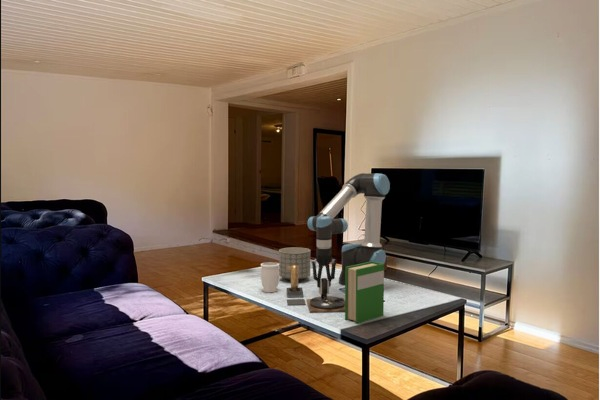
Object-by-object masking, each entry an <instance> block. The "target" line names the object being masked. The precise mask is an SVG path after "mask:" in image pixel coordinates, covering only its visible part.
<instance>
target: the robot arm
mask: <svg viewBox="0 0 600 400" xmlns="http://www.w3.org/2000/svg"><path fill="white" fill-rule="evenodd" d="M390 185H391V182H390V180H389V178H388V176H387V175H386V174H383V173H364V172H362V173H358V174H356V175H354V176H352V177H351V178H349V179H348V180H347V181H346V182H345V183H344V184H343V185H342V188H341V189H340V191H339V192H338V193H336V195H335V196H334V197H333V198H331V200H330V201H329V202H328V203H327V204H326V205H325V206H324V207H323V209H321V211H320V212H318V214H317V215H316V216H315V215H314V216H310V217H309V218H308V220H307V227H308V229H309V230H310V231H314V232H316V257H315V259H314V260H310V264H311V266H312V267H311V268H312V277H313V280H314V281H316V284H317V285H316V286H317V288H318V294H320V295H321V294H322V281H321V278H322V273H323V268H324V267H325V272H326V278H327V295H328V294H330V287H332V280H335V275H336V266H337V262H338V260H337V259H336V258H333V257H332V247H333V246H332V235H337V234H342V233H345V232H347V230H348V227H349V224H348V222H347V220H346V219H344V218H336V217H337V215H338V214H339V213H340V211H342V210H343V208H344V207H346V205H347V204H348V203H349V202H350V201H351V199H353V198H356V197H357V196H358V195H361V194H363V195H364V196H363V197H364V198H365V199H366V202H365V203H366V205H365V220H364V221H365V222H364V223H365V224H364V237H363V238H364V242H362V243H348V244H347V243H346V244H343V245H342V246H341V271H340V274H339V277H338V283H339V284H340V285H342V286H345V267H347V266H352V265H357V264H361V263H366V262H371V261H372V262H377V263H382V264H384V265H385V263H386V259H387V256H386V255H387V254H386V251H385V250H383V245H382V244H381V243H380V241H381V224H382V221H381V220H382V205H383V200H384V199H385V198H386V195H387V194H388V193H389V192H390V189H391V187H390ZM317 264H318V269H317ZM330 264H331V267H330ZM330 268H331V269H330Z"/></svg>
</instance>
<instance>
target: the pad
mask: <svg viewBox="0 0 600 400" xmlns="http://www.w3.org/2000/svg"><path fill="white" fill-rule="evenodd" d="M286 303H287V306H307V305H306V303H307V302H306V301H305V298H292V299H291V298H288V299H287V298H286Z"/></svg>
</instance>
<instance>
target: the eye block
mask: <svg viewBox="0 0 600 400" xmlns="http://www.w3.org/2000/svg"><path fill="white" fill-rule="evenodd" d="M285 288H286V291H285V292H286V299H287V298H288V299H291V298H292V299H296V298H304V290H303V287H300V286H298V291H291V287H285Z"/></svg>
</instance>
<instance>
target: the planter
mask: <svg viewBox="0 0 600 400" xmlns="http://www.w3.org/2000/svg"><path fill="white" fill-rule="evenodd" d="M278 263H279V267H278V268H279V278H280V277H281V278H283V279H285V280H286V281H289V282H291V270H287V266H291V265H298V282H300V281H302V280H304V279H306V278H309V277H311V249H309V248H308V247H307V248H305V247H284V248H280V249H278Z"/></svg>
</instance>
